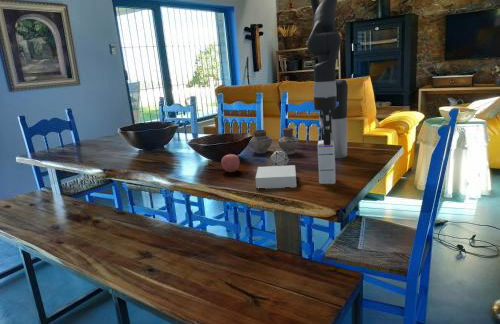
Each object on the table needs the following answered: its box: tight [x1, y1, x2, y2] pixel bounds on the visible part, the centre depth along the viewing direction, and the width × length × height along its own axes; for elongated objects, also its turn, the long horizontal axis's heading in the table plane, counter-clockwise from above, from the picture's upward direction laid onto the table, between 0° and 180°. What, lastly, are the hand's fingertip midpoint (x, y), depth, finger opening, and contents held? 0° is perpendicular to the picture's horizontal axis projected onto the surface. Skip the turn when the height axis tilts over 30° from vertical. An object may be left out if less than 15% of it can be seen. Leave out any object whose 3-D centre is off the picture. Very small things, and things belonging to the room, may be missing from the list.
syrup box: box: [317, 139, 336, 185], centre depth 129 cm, size 6×6×14 cm
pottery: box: [248, 127, 300, 155], centre depth 178 cm, size 11×25×12 cm, turn 66°
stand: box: [255, 164, 297, 190], centre depth 134 cm, size 14×14×4 cm
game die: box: [267, 148, 292, 166], centre depth 150 cm, size 9×8×10 cm
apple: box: [220, 153, 240, 173], centre depth 151 cm, size 7×7×8 cm
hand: (325, 142), depth 127 cm, fingers open, 8 cm apart
